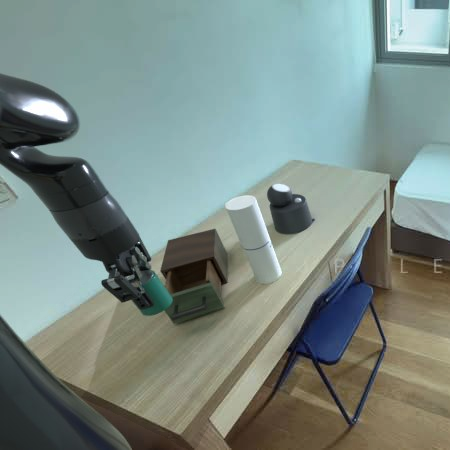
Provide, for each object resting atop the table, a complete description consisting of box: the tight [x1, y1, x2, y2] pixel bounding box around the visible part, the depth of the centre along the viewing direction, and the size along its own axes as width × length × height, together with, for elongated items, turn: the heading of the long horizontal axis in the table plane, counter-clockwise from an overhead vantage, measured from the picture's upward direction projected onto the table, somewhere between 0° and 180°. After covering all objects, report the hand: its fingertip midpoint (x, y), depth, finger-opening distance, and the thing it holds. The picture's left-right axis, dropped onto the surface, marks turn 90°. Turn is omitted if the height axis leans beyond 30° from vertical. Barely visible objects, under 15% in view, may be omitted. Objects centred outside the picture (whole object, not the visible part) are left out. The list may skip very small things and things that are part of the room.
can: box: [127, 269, 173, 317], centre depth 58 cm, size 5×5×7 cm
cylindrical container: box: [224, 194, 283, 285], centre depth 83 cm, size 7×7×25 cm
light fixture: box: [266, 183, 316, 235], centre depth 108 cm, size 13×16×14 cm
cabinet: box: [160, 228, 228, 285], centre depth 89 cm, size 15×13×10 cm
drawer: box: [163, 259, 225, 325], centre depth 79 cm, size 18×11×8 cm, turn 25°
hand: (150, 295), depth 59 cm, fingers closed on can, 5 cm apart
